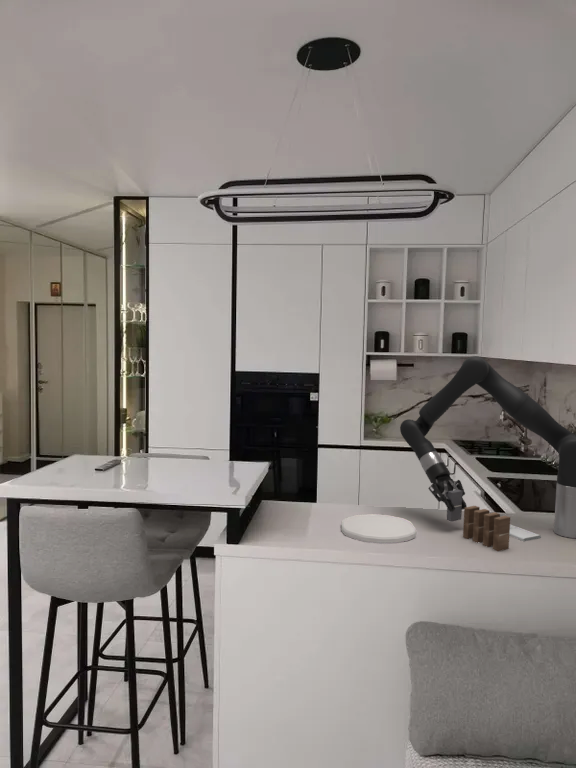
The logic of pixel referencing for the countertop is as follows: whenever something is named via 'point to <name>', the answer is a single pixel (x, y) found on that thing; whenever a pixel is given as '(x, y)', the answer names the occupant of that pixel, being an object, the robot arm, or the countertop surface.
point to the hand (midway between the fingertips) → (458, 509)
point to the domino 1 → (455, 505)
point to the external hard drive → (522, 534)
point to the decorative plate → (378, 528)
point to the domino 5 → (501, 533)
